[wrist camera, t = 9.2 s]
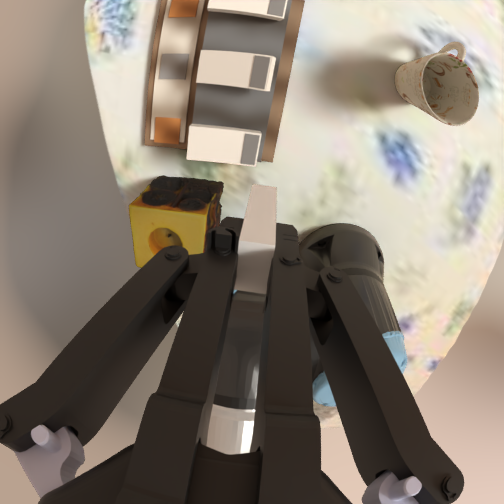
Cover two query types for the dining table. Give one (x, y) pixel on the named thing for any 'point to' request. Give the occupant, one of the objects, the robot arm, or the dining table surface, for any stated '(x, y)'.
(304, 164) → the dining table surface
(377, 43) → the dining table surface
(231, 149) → the block
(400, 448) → the robot arm
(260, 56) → the rocker middle
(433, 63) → the mug
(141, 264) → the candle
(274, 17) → the block
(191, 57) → the switch board
